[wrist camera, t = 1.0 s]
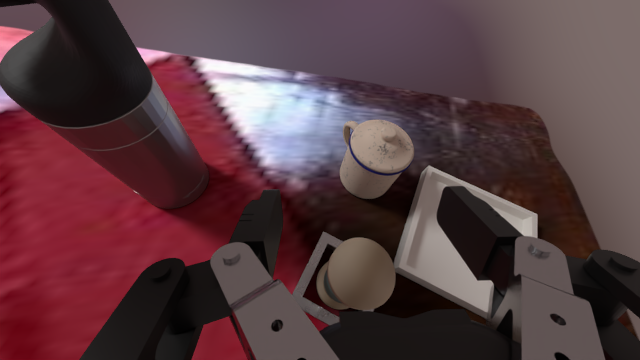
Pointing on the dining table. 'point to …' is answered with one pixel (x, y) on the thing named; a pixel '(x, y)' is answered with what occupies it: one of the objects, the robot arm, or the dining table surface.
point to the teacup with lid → (374, 157)
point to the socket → (305, 304)
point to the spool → (356, 276)
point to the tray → (449, 243)
